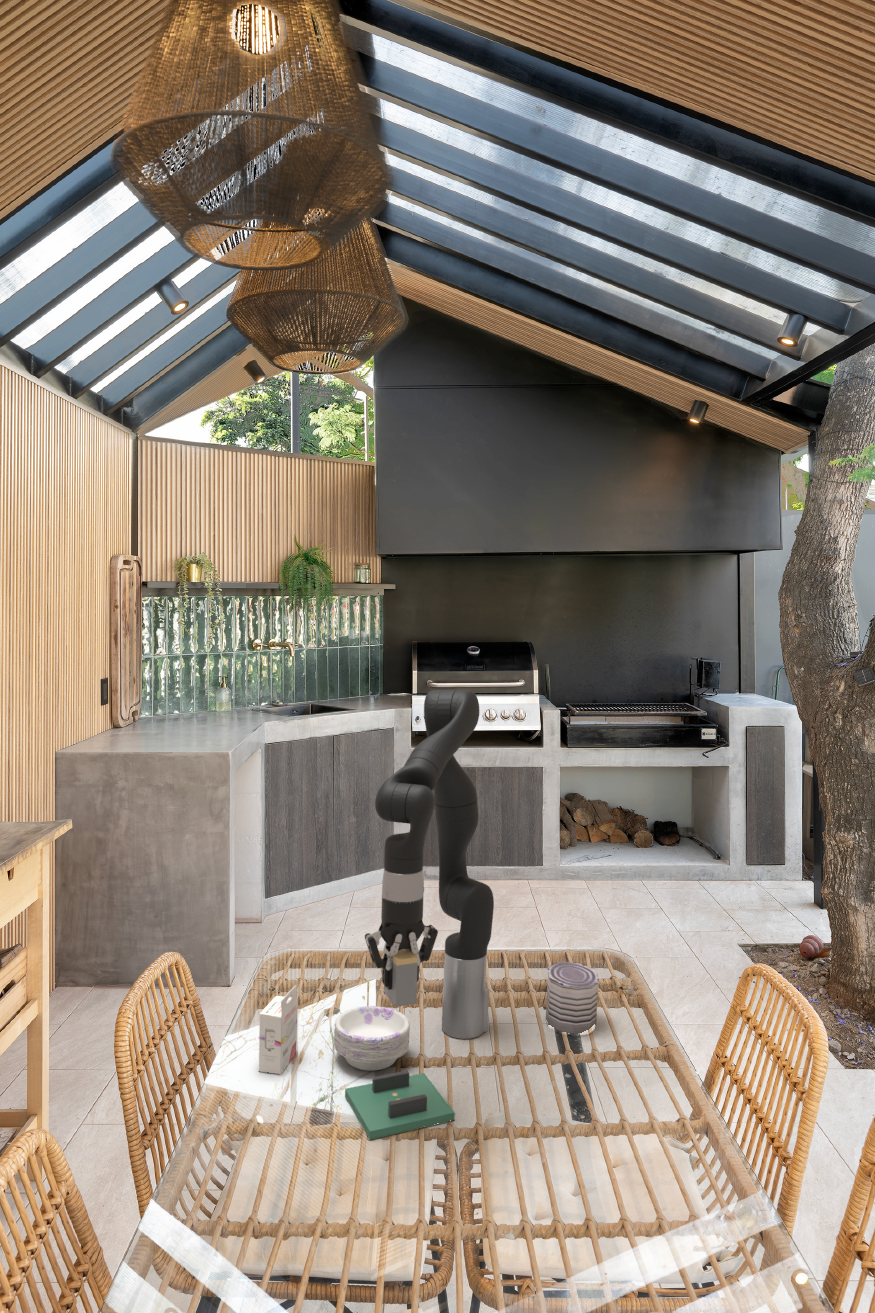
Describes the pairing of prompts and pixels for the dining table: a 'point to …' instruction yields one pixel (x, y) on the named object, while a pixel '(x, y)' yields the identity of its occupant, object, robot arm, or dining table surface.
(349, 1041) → the paper bowls
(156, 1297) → the dining table surface
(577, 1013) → the can
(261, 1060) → the ink cartridge box
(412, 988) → the block
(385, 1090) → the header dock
